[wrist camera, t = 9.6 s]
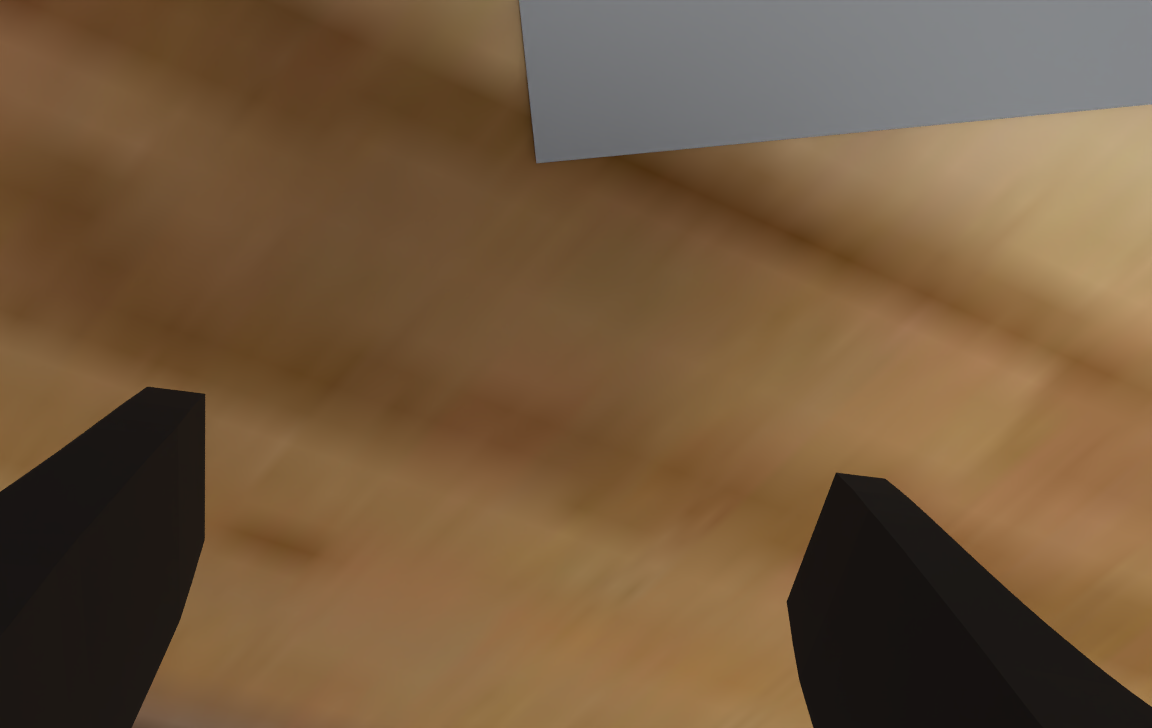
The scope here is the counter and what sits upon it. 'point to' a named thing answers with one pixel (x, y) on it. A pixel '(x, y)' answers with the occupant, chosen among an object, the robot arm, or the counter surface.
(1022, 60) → the lid
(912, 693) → the robot arm
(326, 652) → the counter surface
